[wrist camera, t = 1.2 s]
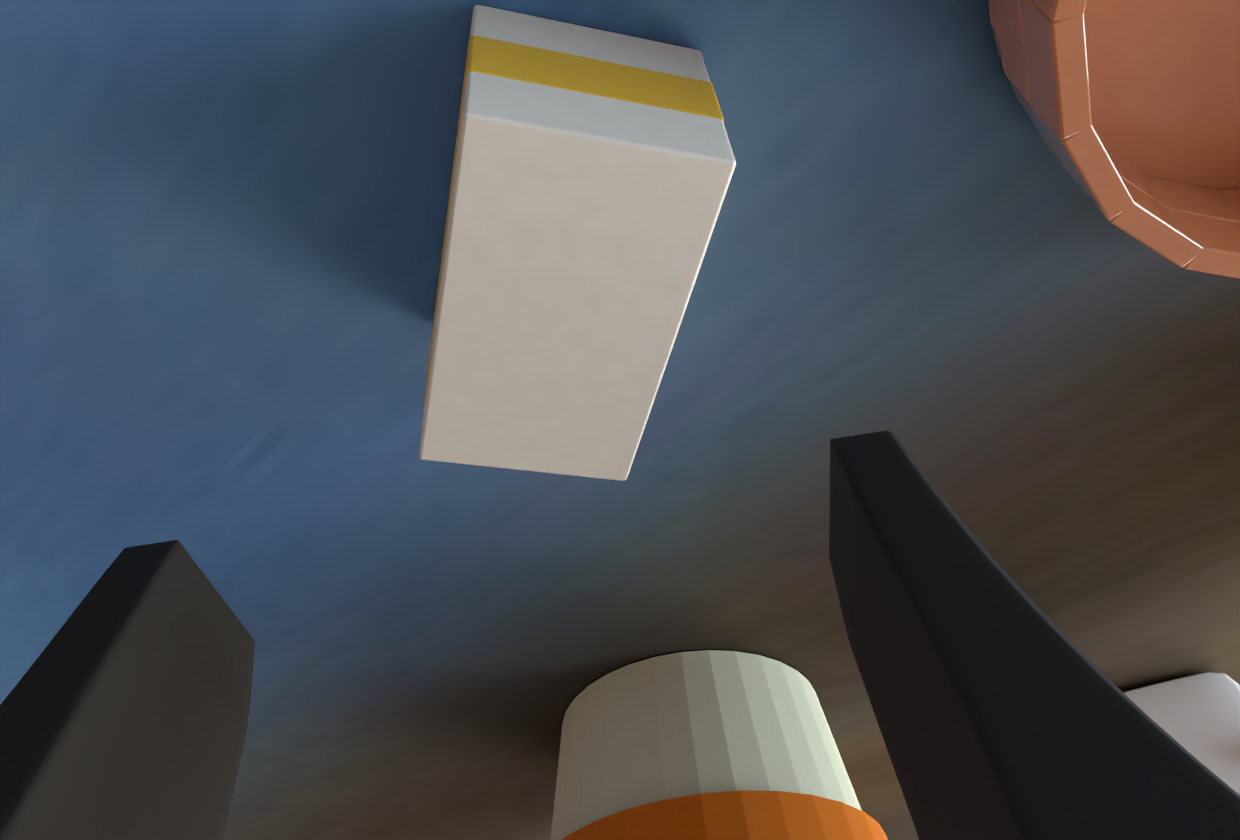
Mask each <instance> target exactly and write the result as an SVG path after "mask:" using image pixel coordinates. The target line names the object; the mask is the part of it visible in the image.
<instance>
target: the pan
mask: <svg viewBox="0 0 1240 840" xmlns="http://www.w3.org/2000/svg"><path fill="white" fill-rule="evenodd" d="M988 4H989V14H990V21H991V25H992V29H993V33H994V37H995V41H996V45H997V49H998V53H999V57H1000V61H1001V63H1002V65H1003V68H1004V71H1005V72H1006V77H1007V78H1008V80H1009V82H1010V83H1011V86H1012V88H1013V90H1014V93H1015V95H1016V97H1017V98H1018V100H1019V101H1020V103H1021V104H1022V106H1023V107H1024V109H1025V110H1026V112H1027V113H1028V115H1029V116H1030V118H1031V119H1032V121H1033V122H1034V124H1035V125H1036V127H1037V129H1038V130H1039V132H1040V134H1041V135H1042V137H1043V139H1044V140H1045V142H1046V144H1047V145H1048V147H1049V148H1050V150H1051V151H1052V152H1053V153H1054V155H1055V156H1056V157H1057V158H1058V160H1059V161H1060V162H1061V163H1062V165H1063V166H1064V167H1065V168H1066V170H1067V171H1068V172H1069V173H1070V175H1071V176H1072V177H1073V178H1074V180H1076V182H1077V183H1078V184H1079V186H1080V187H1081V188H1082V189H1083V191H1084V192H1085V193H1086V194H1087V196H1088V197H1089V198H1090V199H1091V201H1092V202H1093V203H1094V204H1095V206H1096V207H1097V208H1098V209H1099V211H1100V212H1101V213H1102V214H1103V216H1104V217H1105V218H1106V219H1107V220H1108V221H1109V222H1110V223H1111V224H1113V225H1115V226H1116V227H1118V228H1119V229H1121V230H1122V231H1124V232H1126V233H1127V234H1129V235H1130V236H1132V237H1133V238H1135V239H1136V240H1138V241H1140V242H1141V243H1143V244H1144V245H1146V246H1147V247H1149V248H1151V249H1152V250H1154V251H1155V252H1157V253H1158V254H1160V255H1161V256H1163V257H1165V258H1166V259H1168V260H1169V261H1171V262H1172V263H1174V264H1176V265H1177V266H1179V267H1183V268H1184V269H1188V270H1194V271H1199V272H1205V273H1211V274H1216V275H1222V276H1228V277H1234V278H1239V279H1240V0H988Z"/></svg>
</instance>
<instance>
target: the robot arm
mask: <svg viewBox="0 0 1240 840" xmlns="http://www.w3.org/2000/svg"><path fill="white" fill-rule="evenodd" d="M829 558H830V562H831V566H832V571H833V575H834V579H835V584H836V588H837V592H838V597H839V601H840V605H841V609H842V613H843V617H844V622H845V626H846V630H847V634H848V638H849V642H850V645H851V648H852V651H853V654H854V657H855V659H856V662H857V665H858V668H859V671H860V674H861V677H862V679H863V682H864V685H865V688H866V691H867V694H868V696H869V699H870V702H871V705H872V708H873V711H874V713H875V716H876V719H877V722H878V725H879V727H880V730H881V733H882V736H883V739H884V741H885V744H886V747H887V750H888V753H889V755H890V758H891V761H892V764H893V767H894V769H895V772H896V775H897V778H898V781H899V783H900V786H901V789H902V792H903V795H904V798H905V800H906V803H907V806H908V809H909V812H910V814H911V817H912V820H913V823H914V826H915V828H916V831H917V834H918V837H919V840H1240V795H1239V794H1238V793H1237V792H1235V791H1234V790H1233V789H1232V788H1231V787H1230V786H1228V785H1227V784H1226V783H1225V782H1224V781H1222V780H1221V779H1220V778H1219V777H1218V776H1216V775H1215V774H1214V773H1213V772H1212V771H1211V770H1209V769H1208V768H1207V767H1206V766H1205V765H1203V764H1202V763H1201V762H1200V761H1199V760H1197V759H1196V758H1195V757H1194V756H1193V755H1192V754H1190V753H1189V752H1188V751H1187V750H1186V749H1185V748H1184V747H1183V746H1181V745H1180V744H1179V743H1178V742H1177V741H1176V740H1175V739H1174V738H1172V737H1171V736H1170V735H1169V734H1168V733H1167V732H1166V731H1165V730H1163V729H1162V728H1161V727H1160V726H1159V725H1158V724H1157V723H1156V722H1154V721H1153V720H1152V719H1151V718H1150V717H1149V716H1148V715H1147V714H1146V713H1144V712H1143V711H1142V710H1141V709H1140V708H1139V707H1138V706H1137V705H1136V704H1135V703H1134V702H1133V701H1131V700H1130V699H1129V698H1128V697H1127V696H1126V695H1125V694H1124V693H1123V692H1122V691H1121V690H1120V689H1119V688H1118V687H1117V686H1116V685H1115V684H1114V683H1112V682H1111V681H1110V680H1109V679H1108V678H1107V677H1106V676H1105V675H1104V674H1103V673H1102V672H1101V671H1100V670H1099V669H1098V668H1097V667H1096V666H1095V665H1094V664H1093V663H1092V662H1091V661H1090V660H1089V659H1088V658H1087V657H1086V656H1085V655H1084V654H1083V653H1082V652H1081V651H1080V650H1079V649H1078V648H1077V647H1076V646H1075V645H1074V644H1073V643H1072V642H1071V641H1070V640H1069V639H1068V638H1067V637H1066V636H1065V635H1064V634H1063V633H1062V632H1061V631H1060V630H1059V629H1058V628H1057V627H1056V626H1055V625H1054V624H1053V623H1052V622H1051V621H1050V620H1049V618H1048V617H1047V616H1046V615H1045V614H1044V613H1043V612H1042V611H1041V610H1040V609H1039V608H1038V607H1037V606H1036V605H1035V604H1034V603H1033V602H1032V601H1031V599H1030V598H1029V597H1028V596H1027V595H1026V594H1025V593H1024V592H1023V591H1022V589H1021V588H1020V587H1019V586H1018V585H1017V584H1016V583H1015V582H1014V581H1013V579H1012V578H1011V577H1010V576H1009V575H1008V574H1007V573H1006V572H1005V571H1004V569H1003V568H1002V567H1001V566H1000V565H999V564H998V563H997V562H996V561H995V559H994V558H993V557H992V556H991V555H990V554H989V553H988V552H987V550H986V549H985V548H984V547H983V546H982V545H981V543H980V542H979V541H978V540H977V539H976V538H975V536H974V535H973V534H972V533H971V532H970V531H969V529H968V528H967V527H966V526H965V524H964V523H963V522H962V521H961V520H960V518H959V517H958V516H957V515H956V513H955V512H954V511H953V510H952V509H951V507H950V506H949V505H948V504H947V502H946V501H945V500H944V499H943V497H942V496H941V495H940V494H939V492H938V491H937V490H936V488H935V487H934V486H933V485H932V483H931V482H930V481H929V479H928V478H927V477H926V475H925V474H924V473H923V472H922V470H921V469H920V468H919V466H918V465H917V463H916V462H915V461H914V459H913V458H912V457H911V455H910V454H909V453H908V451H907V450H906V448H905V447H904V445H903V444H902V443H901V441H900V440H899V438H898V437H897V436H895V435H894V434H892V433H891V432H889V431H881V432H875V433H868V434H862V435H855V436H849V437H842V438H836V439H830V527H829ZM254 645H255V641H254V640H253V638H252V637H251V636H250V634H249V633H248V632H247V630H246V629H245V628H244V627H243V625H242V624H241V623H240V621H239V620H238V619H237V617H236V616H235V615H234V613H233V612H232V611H231V609H230V608H229V607H228V605H227V604H226V603H225V601H224V600H223V599H222V597H221V596H220V595H219V594H218V592H217V591H216V590H215V588H214V587H213V586H212V584H211V583H210V582H209V580H208V579H207V578H206V576H205V575H204V574H203V572H202V571H201V570H200V568H199V567H198V566H197V565H196V563H195V562H194V561H193V559H192V558H191V557H190V555H189V554H188V553H187V551H186V550H185V549H184V547H183V546H182V545H181V543H180V542H179V541H178V540H174V541H167V542H161V543H154V544H148V545H141V546H135V547H128V548H125V549H124V550H123V551H122V552H121V553H120V555H119V556H118V557H117V558H116V559H115V561H114V562H113V563H112V564H111V565H110V567H109V568H108V569H107V570H106V572H105V573H104V574H103V575H102V577H101V578H100V579H99V580H98V582H97V583H96V584H95V585H94V587H93V588H92V589H91V590H90V592H89V593H88V594H87V596H86V597H85V598H84V599H83V601H82V602H81V603H80V604H79V606H78V607H77V608H76V610H75V611H74V612H73V613H72V615H71V616H70V617H69V619H68V620H67V621H66V623H65V624H64V625H63V626H62V628H61V629H60V630H59V632H58V633H57V634H56V635H55V637H54V638H53V639H52V641H51V642H50V643H49V644H48V646H47V647H46V648H45V650H44V651H43V652H42V653H41V655H40V656H39V657H38V659H37V660H36V661H35V662H34V664H33V665H32V666H31V667H30V669H29V670H28V671H27V672H26V674H25V675H24V676H23V677H22V679H21V680H20V681H19V682H18V684H17V685H16V686H15V688H14V689H13V690H12V691H11V693H10V694H9V695H8V696H7V698H6V699H5V700H4V701H3V703H2V704H1V705H0V840H222V837H223V833H224V829H225V824H226V820H227V816H228V812H229V807H230V803H231V799H232V794H233V790H234V785H235V781H236V776H237V772H238V767H239V763H240V758H241V754H242V749H243V745H244V740H245V735H246V730H247V723H248V714H249V705H250V696H251V685H252V672H253V658H254Z"/></svg>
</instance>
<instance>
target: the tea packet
mask: <svg viewBox="0 0 1240 840" xmlns="http://www.w3.org/2000/svg"><path fill="white" fill-rule="evenodd" d="M735 166H736V161H735V158H734V155H733V152H732V148H731V145H730V142H729V139H728V136H727V133H726V130H725V126H724V119H723V115H722V112H721V109H720V106H719V103H718V100H717V97H716V94H715V91H714V87H713V84H712V83H711V82H710V79H709V76H708V73H707V70H706V67H705V64H704V60H703V57H702V54H701V52H700V51H699V50H696V49H691V48H686V47H681V46H676V45H671V44H666V43H662V42H657V41H652V40H647V39H642V38H637V37H632V36H628V35H623V34H618V33H613V32H608V31H603V30H598V29H594V28H589V27H584V26H579V25H574V24H569V23H564V22H560V21H555V20H550V19H545V18H540V17H535V16H530V15H526V14H521V13H516V12H511V11H506V10H501V9H496V8H492V7H487V6H482V5H475V6H474V8H473V14H472V22H471V30H470V38H469V42H468V50H467V58H466V66H465V74H464V82H463V90H462V98H461V106H460V114H459V122H458V130H457V138H456V146H455V154H454V162H453V170H452V178H451V185H450V193H449V201H448V209H447V217H446V225H445V233H444V241H443V249H442V257H441V265H440V273H439V281H438V289H437V297H436V305H435V313H434V321H433V329H432V337H431V345H430V353H429V361H428V369H427V378H426V387H425V396H424V405H423V408H424V414H423V424H422V433H421V442H420V451H419V457H420V459H422V460H431V461H441V462H450V463H459V464H469V465H478V466H488V467H497V468H507V469H516V470H526V471H535V472H545V473H554V474H564V475H573V476H583V477H592V478H602V479H611V480H621V481H625V480H626V479H627V477H628V474H629V471H630V468H631V466H632V463H633V460H634V457H635V454H636V451H637V448H638V445H639V443H640V440H641V437H642V434H643V431H644V428H645V425H646V422H647V419H648V417H649V414H650V411H651V408H652V405H653V402H654V399H655V396H656V394H657V391H658V388H659V385H660V382H661V379H662V376H663V373H664V370H665V368H666V365H667V362H668V359H669V356H670V353H671V350H672V347H673V344H674V342H675V339H676V336H677V333H678V330H679V327H680V324H681V321H682V319H683V316H684V313H685V310H686V307H687V304H688V301H689V298H690V295H691V293H692V290H693V287H694V284H695V281H696V278H697V275H698V272H699V270H700V267H701V264H702V261H703V258H704V255H705V252H706V249H707V246H708V244H709V241H710V238H711V235H712V232H713V229H714V226H715V223H716V220H717V218H718V215H719V212H720V209H721V206H722V203H723V200H724V197H725V195H726V192H727V189H728V186H729V183H730V180H731V177H732V174H733V171H734V169H735Z"/></svg>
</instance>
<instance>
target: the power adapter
mask: <svg viewBox="0 0 1240 840" xmlns="http://www.w3.org/2000/svg"><path fill="white" fill-rule="evenodd" d="M1123 693H1124V694H1125V695H1126V696H1127V697H1128V698H1129V699H1130V700H1131V701H1133V702H1134V703H1135V704H1136V705H1137V706H1138V707H1139V708H1140V709H1141V710H1142V711H1143V712H1144V713H1146V714H1147V715H1148V716H1149V717H1150V718H1151V719H1152V720H1153V721H1154V722H1156V723H1157V724H1158V725H1159V726H1160V727H1161V728H1162V729H1163V730H1165V731H1166V732H1167V733H1168V734H1169V735H1170V736H1171V737H1172V738H1174V739H1175V740H1176V741H1177V742H1178V743H1179V744H1180V745H1181V746H1183V747H1184V748H1185V749H1186V750H1187V751H1188V752H1189V753H1190V754H1192V755H1193V756H1194V757H1195V758H1196V759H1197V760H1199V761H1200V762H1201V763H1202V764H1203V765H1205V766H1206V767H1207V768H1208V769H1209V770H1211V771H1212V772H1213V773H1214V774H1215V775H1216V776H1218V777H1219V778H1220V779H1221V780H1222V781H1224V782H1225V783H1226V784H1227V785H1228V786H1230V787H1231V788H1232V789H1233V790H1234V791H1235V792H1237V793H1238V794H1239V795H1240V685H1239V684H1238V683H1236V682H1235V681H1234V680H1233V679H1231V678H1230V677H1229V676H1228V675H1227V674H1225V673H1211V672H1205V673H1200V674H1195V675H1190V676H1185V677H1181V678H1177V679H1172V680H1168V681H1164V682H1160V683H1156V684H1152V685H1148V686H1144V687H1140V688H1136V689H1133V690H1129V691H1125V692H1123Z"/></svg>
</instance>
